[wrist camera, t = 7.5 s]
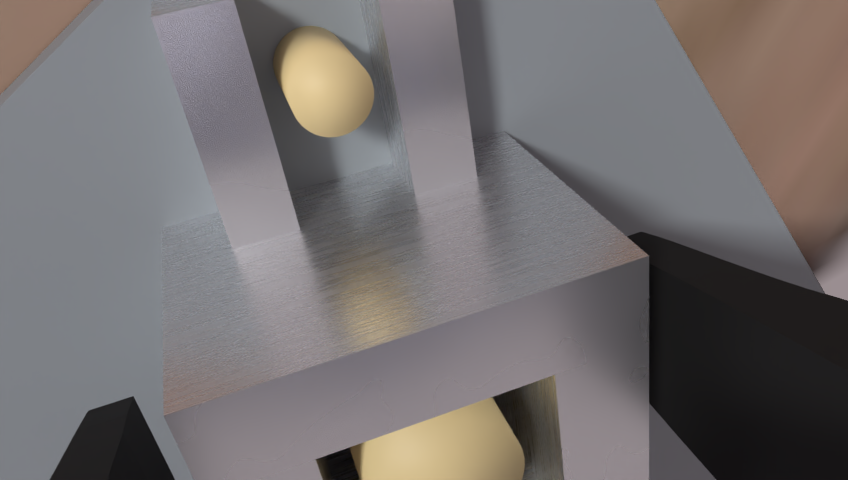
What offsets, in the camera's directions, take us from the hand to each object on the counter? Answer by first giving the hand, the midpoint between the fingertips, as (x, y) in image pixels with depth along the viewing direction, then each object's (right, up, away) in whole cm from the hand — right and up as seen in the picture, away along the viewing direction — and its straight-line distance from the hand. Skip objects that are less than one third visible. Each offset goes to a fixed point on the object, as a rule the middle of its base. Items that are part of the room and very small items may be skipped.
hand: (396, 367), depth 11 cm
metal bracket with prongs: (-1, +2, 0) cm, 2 cm away
